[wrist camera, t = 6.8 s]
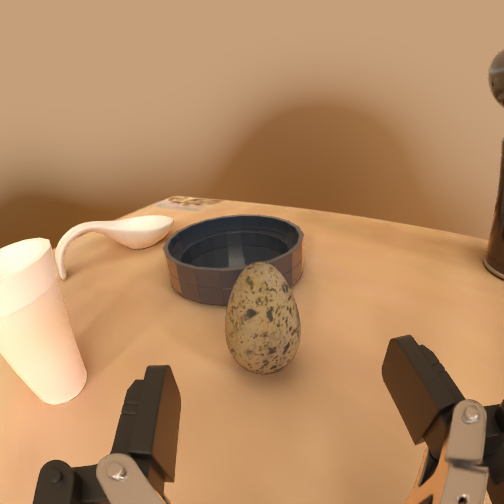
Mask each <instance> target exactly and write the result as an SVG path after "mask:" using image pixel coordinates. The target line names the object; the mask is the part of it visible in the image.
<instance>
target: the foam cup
mask: <svg viewBox="0 0 504 504" xmlns="http://www.w3.org/2000/svg"><path fill="white" fill-rule="evenodd" d="M58 275H59V273H58V267H57V264H56V260H55V257H54V254H53V251H52V248H51V244H50V241H49V240H47V239H43V238H34V239H27V240H23V241H20V242H17V243H14V244H11V245H8V246H6V247H3V248H1V249H0V353H1V355H2V356H3V357H4V358H5V360H6V361H7V362H8V363H9V365H10V366H11V367H12V368H13V369H14V371H15V372H16V373H17V374H18V375H19V376H20V378H21V379H22V380H23V381H24V382H25V383H26V384H27V385H28V386H29V388H30V389H31V390H32V391H33V392H34V393H35V394H36V395H37V396H38V397H39V398H40V399H41V400H42V401H43V402H45V403H49V404H53V405H56V404H61V403H66V402H68V401H69V400H71V399H72V398H74V397H76V396H77V395H78V394H79V393H80V391H81V390H82V389H83V387H84V386H85V384H86V379H87V372H86V369H85V366H84V363H83V361H82V358H81V355H80V352H79V350H78V347H77V344H76V341H75V338H74V335H73V332H72V328H71V325H70V322H69V319H68V315H67V312H66V308H65V305H64V301H63V297H62V293H61V289H60V285H59V281H58V277H57V276H58Z"/></svg>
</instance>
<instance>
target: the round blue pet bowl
mask: <svg viewBox="0 0 504 504" xmlns="http://www.w3.org/2000/svg"><path fill="white" fill-rule="evenodd" d="M163 250H164V255H165V260H166V265H167V269H168V274H169V278H170V281H171V285H172V287H173V288H174V289H175V290H176V291H177V292H179V293H180V294H181V295H182V296H183V297H186V298H189V299H191V300H194V301H197V302H200V303H206V304H216V305H228V302H229V298H230V295H231V292H232V289H233V286H234V284H235V282H236V280H237V278H238V277H239V275H240V274H241V272H242V271H243V270H244V269H245V268H246V267H247V266H249V265H250V264H252V263H255V262H266V263H269V264H271V265H272V266H274V267H275V268H276V269H277V270H278V271H279V272H280V273H281V274H282V276H283V277H284V279H285V280H286V282H287V283H288V285H289V287H292V286H293V285H294V283H295V282H296V281H297V280H298V279H299V278H300V277H301V275H302V272H303V266H304V234H303V232H302V231H301V229H300V228H299V227H298V226H297V225H295V224H293V223H291V222H290V221H287V220H284V219H280V218H277V217H272V216H264V215H232V216H222V217H217V218H212V219H207V220H203V221H200V222H197V223H194V224H191V225H189V226H187V227H185V228H183V229H181V230H179V231H177V232H175V233H174V234H173V235H172V236H171V237H169V238H168V239H167V241H166V243H165V245H164V247H163Z"/></svg>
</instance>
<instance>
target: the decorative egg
mask: <svg viewBox="0 0 504 504" xmlns="http://www.w3.org/2000/svg"><path fill="white" fill-rule="evenodd" d="M225 333H226V340H227V344H228V348H229V350H230V352H231V354H232V356H233V358H234V359H235V360H236V362H237V363H238V364H239V365H240V366H242V367H243V368H244V369H246V370H248V371H250V372H253V373H256V374H270V373H274V372H277V371H279V370H281V369H282V368H284V367H285V366H286V365H287V364H288V363H289V362H290V361H291V360H292V359H293V357H294V356H295V354H296V352H297V349H298V346H299V342H300V335H301V328H300V318H299V313H298V309H297V305H296V302H295V299H294V297H293V294H292V292H291V289H290V287H289V285H288V283H287V282H286V280H285V279H284V277H283V276H282V274H281V273H280V272H279V271H278V270H277V269H276V268H275V267H274V266H272V265H271V264H269V263H266V262H255V263H252V264H250V265H249V266H247V267H246V268H245V269H244V270H243V271H242V272H241V274H240V275H239V277H238V278H237V280H236V282H235V284H234V286H233V289H232V292H231V295H230V298H229V302H228V306H227V311H226V319H225Z"/></svg>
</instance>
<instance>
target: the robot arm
mask: <svg viewBox="0 0 504 504" xmlns="http://www.w3.org/2000/svg"><path fill="white" fill-rule="evenodd" d="M488 83H489V87H490V91H491V93H492V95H493V97H494V99H495V100H496V101H497V103H498V104H499V105H500V106H502V107H503V108H504V49H503V50H501V51H499V52H498V53H497V54H496V55H495V56H494V58H493V59H492V61H491V64H490V67H489V71H488ZM484 265H485V266H486V268H487V269H488V270H489V271H490V272H492V273H493V274H495V275H496V276H498V277H500V278H502V279H504V138H503V139H502V142H501V158H500V171H499V181H498V190H497V198H496V205H495V211H494V217H493V222H492V228H491V233H490V238H489V242H488V247H487V251H486V255H485V257H484ZM382 377H383V380H384V383H385V385H386V386H387V388H388V390H389V392H390V394H391V396H392V398H393V400H394V402H395V404H396V406H397V408H398V410H399V412H400V414H401V416H402V419H403V421H404V423H405V425H406V427H407V429H408V431H409V433H410V435H411V437H412V439H413V442H414V444H415V445H417V444H420V443H422V442H426V444H427V447H426V449H425V452H424V456H423V459H422V463H421V466H420V469H419V472H418V476H417V479H416V482H415V485H414V487H413V490H412V492H411V494H410V495H409V497H408V498H407V500H406V501H405V503H404V504H483V501H484V497H485V492H486V489H487V492H488V494H489V497H490V500H491V502H492V504H504V400H503V401H502V403H501V404H497V405H491V406H484V407H483V406H482V405H481V404H480V403H479V402H477V401H475V400H470V399H467V400H466V399H465V398H464V396H463V395H462V393H461V392H460V390H459V389H458V387H457V386H456V384H455V383H454V382H453V380H452V379H451V377H450V376H449V374H448V373H447V371H445V369H444V367H443V366H442V364H441V363H439V360H438V359H437V357H436V356H435V354H434V353H433V352H432V351H431V350H429V349H428V348H426V347H425V346H423V345H418V344H417V342H416V341H415V340H414V338H413V337H412V336H411V335H405V336H401V337H397V338H393V339H391V340H390V342H389V345H388V348H387V352H386V355H385V359H384V362H383V365H382ZM180 411H181V397H180V392H179V389H178V387H177V384H176V381H175V379H174V376H173V373H172V370H171V368H170V366H169V365H152V366H148V367H147V369H146V373H145V377H144V380H135V381H134V382H133V384H132V385H131V386H130V387H129V389H128V390H127V393H126V397H125V400H124V405H123V408H122V411H121V412H122V414H121V415H120V419H119V423H118V427H117V431H116V435H115V439H114V443H113V447H112V451H111V453H110V454H109V455H107V456H105V457H104V458H103V459H101V461H100V462H99V463H98V464H96V465H91V466H83V467H73V468H71V467H70V466H69V465H68V464H67V463H65V462H64V461H61V460H52V461H49V462H47V463H46V464H45V465H44V466H43V467H42V468H41V470H40V473H39V478H38V482H37V486H36V491H35V495H34V500H33V504H172V502H171V501H170V500H169V499H168V497H167V496H166V495H165V493H164V482H174V477H175V464H176V452H177V441H178V430H179V420H180Z"/></svg>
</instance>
